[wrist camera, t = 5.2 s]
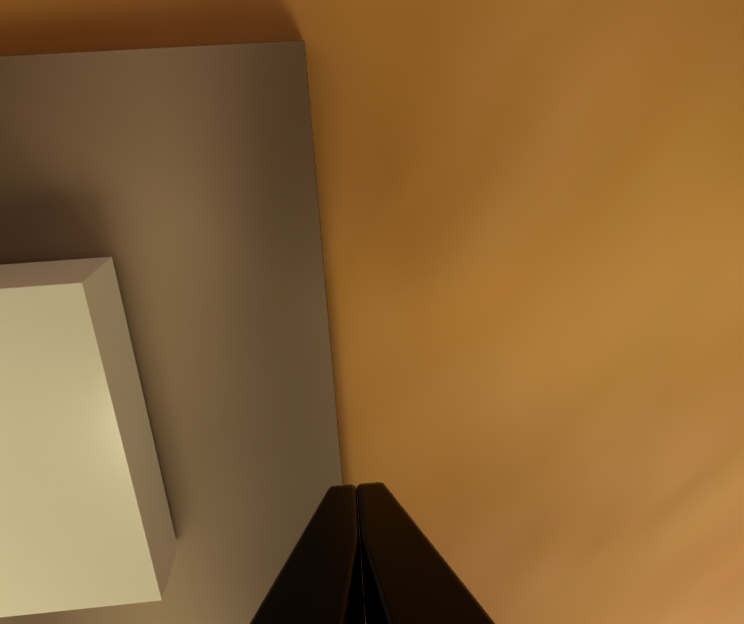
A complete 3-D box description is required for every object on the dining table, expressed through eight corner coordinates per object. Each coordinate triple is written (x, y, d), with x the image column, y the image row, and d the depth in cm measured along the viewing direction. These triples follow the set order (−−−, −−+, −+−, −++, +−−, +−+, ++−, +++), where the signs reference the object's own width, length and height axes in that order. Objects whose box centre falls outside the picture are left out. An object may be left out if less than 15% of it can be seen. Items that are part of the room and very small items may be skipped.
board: (304, 42, 11) (303, 40, 10) (353, 612, 16) (355, 631, 15) (-538, 86, 10) (-589, 87, 9) (-192, 671, 15) (-212, 694, 15)
